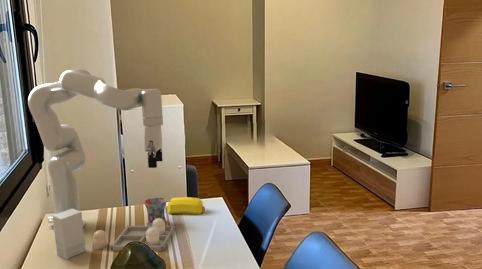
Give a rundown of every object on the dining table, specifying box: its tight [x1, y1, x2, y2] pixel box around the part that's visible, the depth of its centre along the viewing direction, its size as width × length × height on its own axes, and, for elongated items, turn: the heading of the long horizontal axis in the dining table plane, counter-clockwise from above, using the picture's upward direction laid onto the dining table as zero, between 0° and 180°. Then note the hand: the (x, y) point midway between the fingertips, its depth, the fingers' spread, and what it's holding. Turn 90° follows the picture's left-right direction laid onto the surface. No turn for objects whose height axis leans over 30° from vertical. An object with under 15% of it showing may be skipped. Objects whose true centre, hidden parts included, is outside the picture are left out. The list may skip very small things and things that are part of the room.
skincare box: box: [51, 209, 87, 260], centre depth 167 cm, size 8×7×16 cm
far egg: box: [146, 227, 160, 246], centre depth 172 cm, size 5×5×7 cm
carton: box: [110, 225, 176, 252], centre depth 177 cm, size 19×19×2 cm
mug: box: [143, 197, 168, 226], centre depth 193 cm, size 12×9×11 cm
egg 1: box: [92, 229, 108, 251], centre depth 172 cm, size 5×5×7 cm
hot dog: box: [165, 196, 206, 215], centre depth 206 cm, size 18×7×8 cm
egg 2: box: [152, 218, 166, 235], centre depth 181 cm, size 5×5×7 cm
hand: (155, 164), depth 181 cm, fingers open, 9 cm apart
